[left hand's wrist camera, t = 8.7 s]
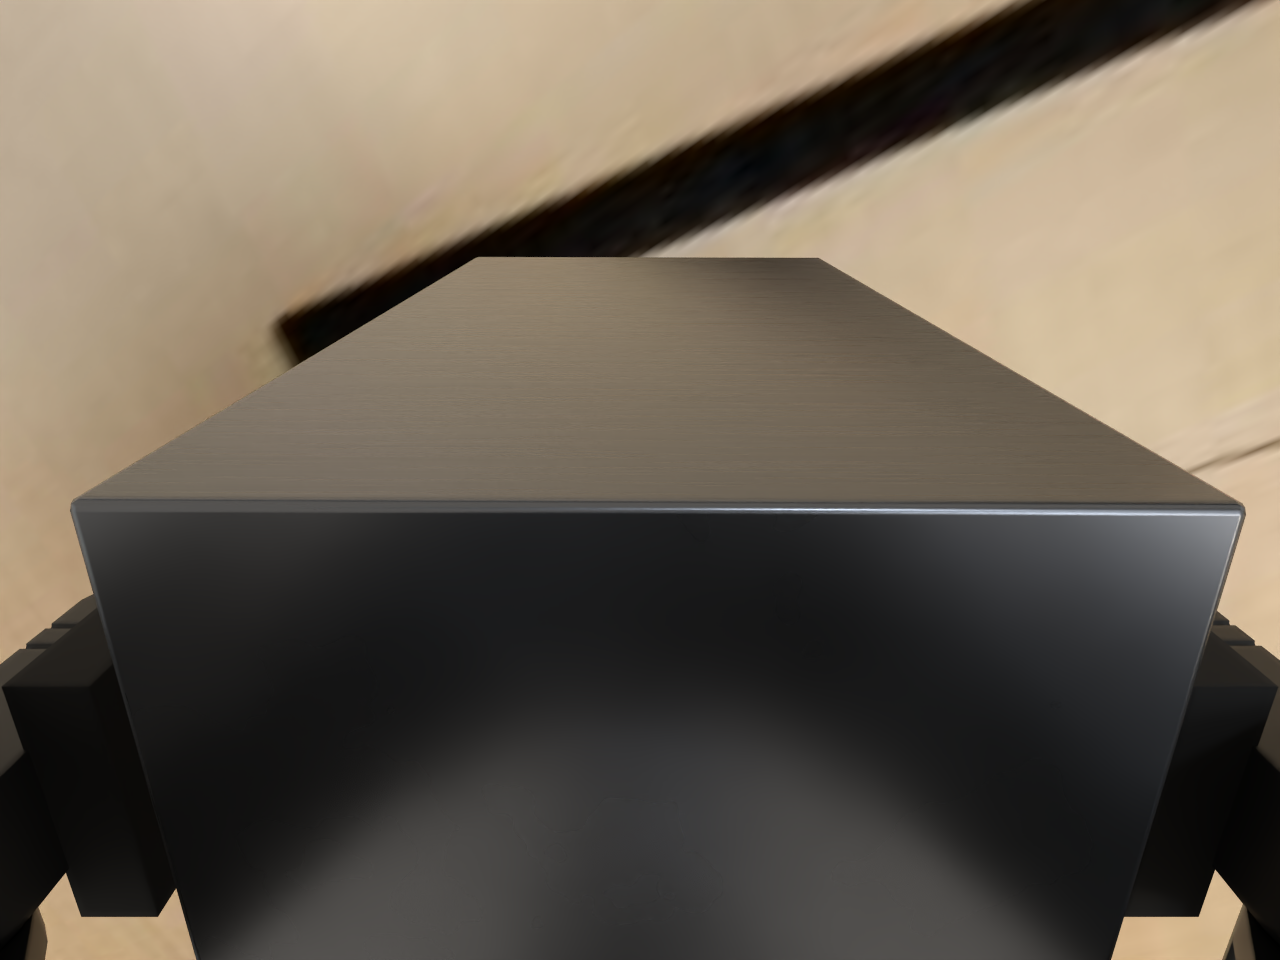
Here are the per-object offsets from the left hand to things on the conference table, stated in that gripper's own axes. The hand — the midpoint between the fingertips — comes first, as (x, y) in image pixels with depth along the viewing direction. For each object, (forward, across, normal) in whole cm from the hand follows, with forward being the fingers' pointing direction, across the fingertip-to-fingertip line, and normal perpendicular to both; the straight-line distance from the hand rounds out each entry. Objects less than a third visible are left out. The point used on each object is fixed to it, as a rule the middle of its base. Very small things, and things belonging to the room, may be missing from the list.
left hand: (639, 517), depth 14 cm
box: (+2, 0, -9) cm, 9 cm away
